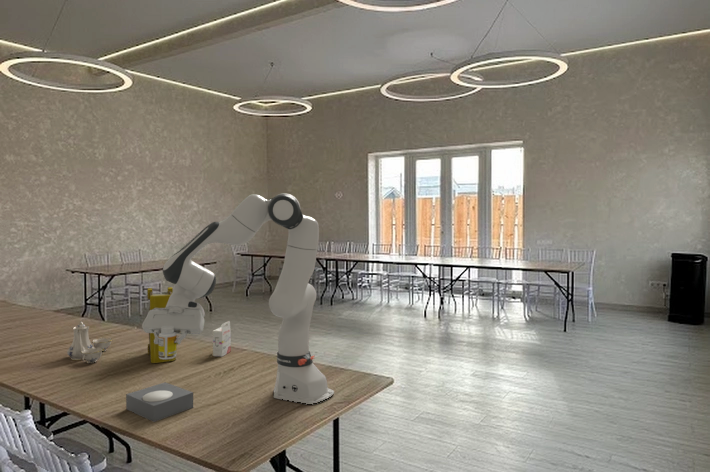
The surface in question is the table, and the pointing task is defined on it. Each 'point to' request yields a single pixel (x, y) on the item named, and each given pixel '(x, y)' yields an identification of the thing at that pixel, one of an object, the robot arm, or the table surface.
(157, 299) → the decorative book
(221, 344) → the ink cartridge box
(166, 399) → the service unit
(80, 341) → the chinaware
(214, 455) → the table surface
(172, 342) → the supplement bottle
